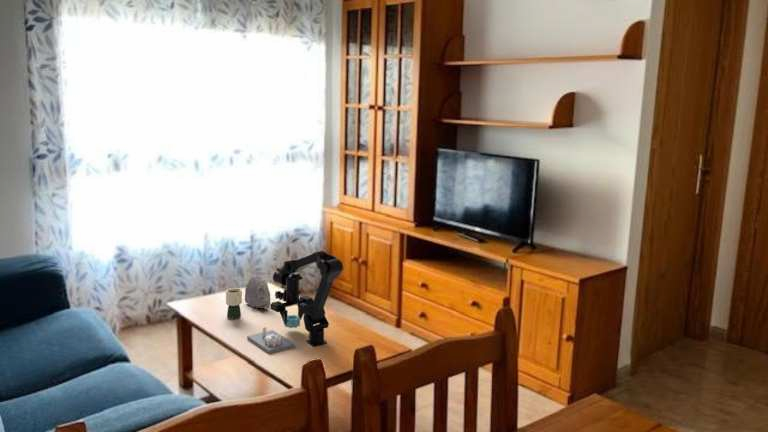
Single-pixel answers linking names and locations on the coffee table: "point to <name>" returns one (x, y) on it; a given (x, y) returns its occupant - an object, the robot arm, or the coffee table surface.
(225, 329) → the coffee table surface
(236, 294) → the character mug
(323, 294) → the robot arm
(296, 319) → the teal gear
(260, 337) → the gear board
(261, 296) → the decorative rock
